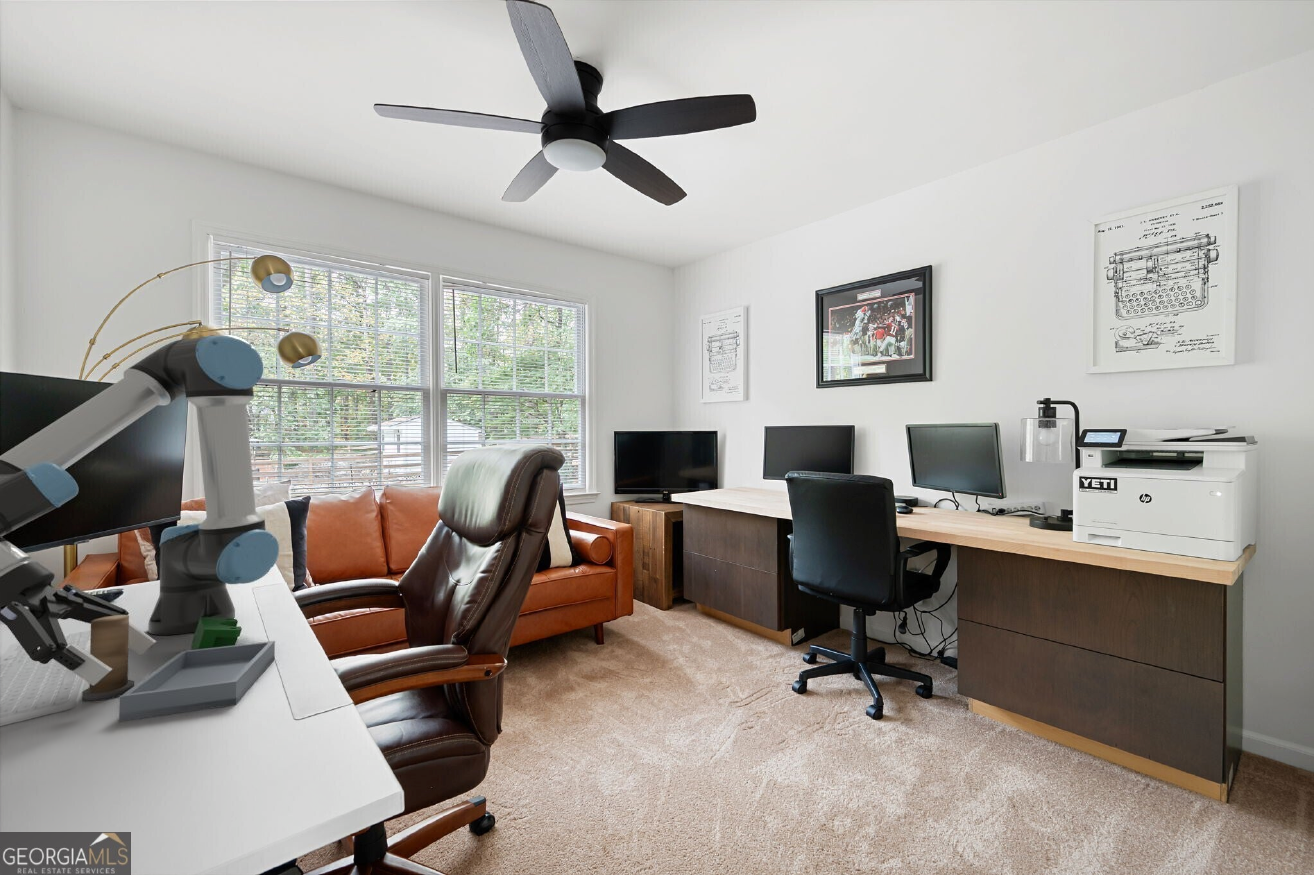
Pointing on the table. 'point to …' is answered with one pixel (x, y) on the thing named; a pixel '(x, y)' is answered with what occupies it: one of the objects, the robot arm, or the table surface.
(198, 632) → the clamp
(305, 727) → the table surface
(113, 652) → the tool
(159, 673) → the tray
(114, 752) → the table surface
